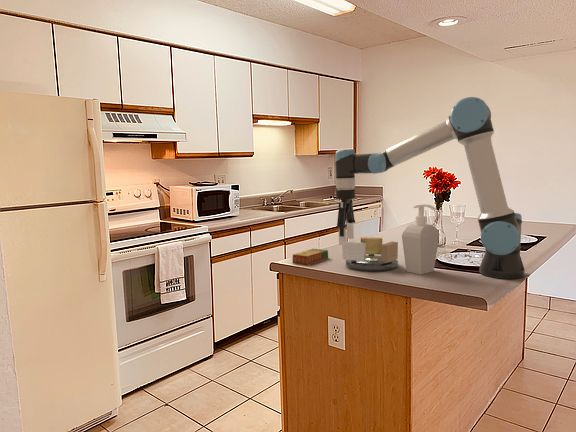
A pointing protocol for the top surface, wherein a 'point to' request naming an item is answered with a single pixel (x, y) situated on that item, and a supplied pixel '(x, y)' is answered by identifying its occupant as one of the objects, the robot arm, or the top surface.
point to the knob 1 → (354, 251)
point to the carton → (310, 256)
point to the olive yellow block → (372, 245)
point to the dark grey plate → (372, 264)
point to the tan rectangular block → (389, 252)
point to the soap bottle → (420, 244)
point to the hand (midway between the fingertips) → (346, 241)
